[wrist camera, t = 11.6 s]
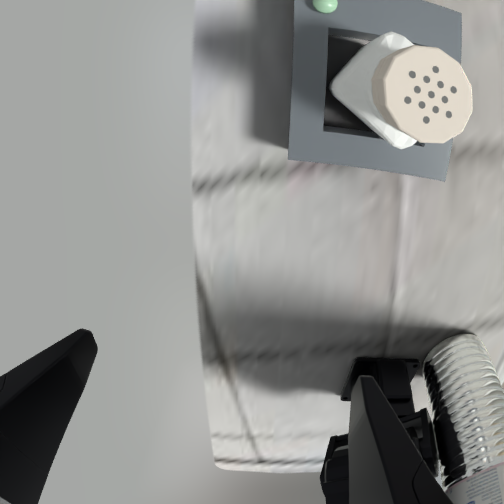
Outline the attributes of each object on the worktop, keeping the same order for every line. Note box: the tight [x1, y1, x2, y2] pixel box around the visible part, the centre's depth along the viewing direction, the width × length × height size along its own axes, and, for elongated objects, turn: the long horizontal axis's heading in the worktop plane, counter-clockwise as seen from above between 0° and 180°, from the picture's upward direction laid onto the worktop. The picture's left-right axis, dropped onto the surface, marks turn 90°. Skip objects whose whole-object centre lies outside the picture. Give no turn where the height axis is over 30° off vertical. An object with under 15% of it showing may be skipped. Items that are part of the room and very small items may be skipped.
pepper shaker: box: [329, 31, 473, 149], centre depth 12 cm, size 4×4×10 cm
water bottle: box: [422, 334, 504, 504], centre depth 14 cm, size 7×7×25 cm
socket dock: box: [288, 0, 462, 182], centre depth 14 cm, size 10×9×3 cm
